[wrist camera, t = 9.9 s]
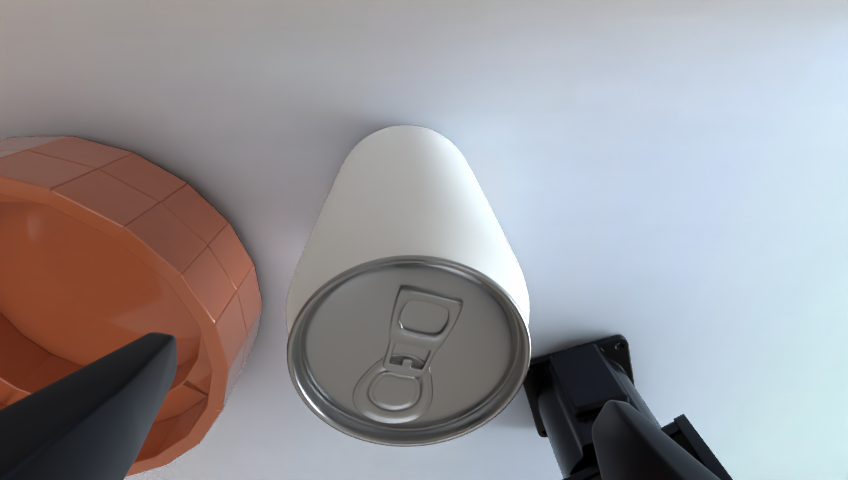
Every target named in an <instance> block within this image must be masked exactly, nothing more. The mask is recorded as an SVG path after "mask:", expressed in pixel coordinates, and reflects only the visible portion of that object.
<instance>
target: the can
mask: <svg viewBox="0 0 848 480" xmlns="http://www.w3.org/2000/svg"><path fill="white" fill-rule="evenodd" d="M529 314H530V304H529V295H528V290H527V286H526V283H525V279H524V276H523V274H522V271H521V269H520V267H519V264H518V262H517V260H516V257H515V255H514V253H513V251H512V249H511V247H510V245H509V243H508V241H507V239H506V237H505V235H504V233H503V231H502V229H501V227H500V225H499V223H498V221H497V219H496V217H495V215H494V213H493V211H492V209H491V207H490V205H489V203H488V201H487V199H486V198H485V196H484V194H483V192H482V190H481V188H480V186H479V184H478V182H477V180H476V178H475V176H474V174H473V172H472V171H471V169H470V167H469V165H468V163H467V161H466V160H465V158H464V157H463V155H462V154H461V152H460V151H459V150H458V149H457V148H456V147H455V145H454V144H452V143H451V142H450V141H449V140H448V139H446V138H445V137H444V136H442V135H440V134H439V133H437V132H434V131H432V130H430V129H427V128H423V127H419V126H412V125H398V126H391V127H387V128H384V129H381V130H378V131H376V132H374V133H372V134H370V135H368V136H367V137H365V138H364V139H363V140H361V141H360V142H359V143H358V144H357V145H356V146H355V147H354V148H353V149H352V151H351V152H350V153H349V155H348V156H347V158H346V159H345V161H344V163H343V165H342V167H341V169H340V171H339V173H338V175H337V177H336V179H335V182H334V184H333V186H332V188H331V190H330V193H329V195H328V197H327V199H326V201H325V204H324V206H323V208H322V210H321V212H320V215H319V217H318V219H317V221H316V224H315V226H314V228H313V230H312V233H311V235H310V237H309V239H308V242H307V244H306V246H305V249H304V251H303V253H302V256H301V258H300V260H299V262H298V265H297V268H296V270H295V273H294V275H293V278H292V281H291V284H290V288H289V292H288V297H287V304H286V322H287V329H288V334H289V338H288V344H287V363H288V369H289V373H290V377H291V380H292V382H293V385H294V387H295V389H296V391H297V393H298V394H299V396H300V397H301V399H302V400H303V402H304V403H305V404H306V405H307V407H308V408H309V409H310V410H311V411H312V412H313V413H314V414H315V415H316V416H318V417H319V418H320V419H321V420H323V421H324V422H325V423H327V424H328V425H330V426H331V427H333V428H335V429H336V430H338V431H340V432H342V433H344V434H346V435H349V436H351V437H354V438H357V439H359V440H363V441H366V442H370V443H375V444H380V445H387V446H400V447H411V446H424V445H431V444H437V443H441V442H445V441H449V440H452V439H455V438H458V437H461V436H463V435H466V434H468V433H470V432H472V431H474V430H476V429H478V428H480V427H481V426H483V425H485V424H486V423H488V422H489V421H490V420H492V419H493V418H494V417H496V416H497V415H498V414H499V413H500V412H501V411H503V410H504V409H505V408H506V407H507V405H508V404H509V403H510V402H511V401H512V400H513V398H514V397H515V396H516V394H517V393H518V391H519V389H520V388H521V386H522V384H523V382H524V380H525V377H526V375H527V371H528V368H529V364H530V357H531V340H530V334H529V329H528V324H529Z"/></svg>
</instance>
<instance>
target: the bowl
mask: <svg viewBox="0 0 848 480" xmlns="http://www.w3.org/2000/svg"><path fill="white" fill-rule="evenodd" d="M261 311H262V300H261V296H260V291H259V286H258V281H257V276H256V272H255V267H254V264H253V262H252V260H251V258H250V257H249V255H248V253H247V252H246V250H245V248H244V247H243V245H242V243H241V242H240V240H239V238H238V237H237V235H236V233H235V231H234V230H233V228H232V226H231V225H230V223H228V221H227V220H226V219H225V218H224V217H223V216H222V215H221V214H220V213H219V212H217V211H216V210H215V209H214V208H213V207H212V206H211V205H210V204H209V203H208V202H207V201H206V200H205V199H204V198H203V197H202V196H201V195H200V194H198V193H197V192H196V191H195V190H194V189H193V188H192V187H191V186H190V185H189V184H187V183H186V182H185V181H183V180H181V179H179V178H178V177H176V176H174V175H172V174H171V173H169V172H167V171H165V170H163V169H162V168H160V167H158V166H156V165H154V164H153V163H151V162H149V161H147V160H146V159H144V158H142V157H140V156H138V155H137V154H134V153H132V152H129V151H125V150H122V149H118V148H114V147H111V146H107V145H103V144H99V143H96V142H92V141H88V140H84V139H81V138H77V137H72V136H45V137H11V138H7V139H4V140H0V410H1V409H3V408H5V407H7V406H9V405H11V404H12V403H14V402H16V401H18V400H20V399H22V398H24V397H26V396H28V395H30V394H32V393H34V392H36V391H38V390H40V389H42V388H43V387H45V386H47V385H49V384H51V383H53V382H55V381H57V380H59V379H61V378H63V377H65V376H67V375H69V374H71V373H73V372H74V371H76V370H78V369H80V368H82V367H84V366H86V365H88V364H90V363H92V362H94V361H96V360H98V359H100V358H102V357H103V356H105V355H107V354H109V353H111V352H113V351H115V350H117V349H119V348H121V347H123V346H125V345H127V344H129V343H131V342H133V341H134V340H136V339H138V338H140V337H142V336H144V335H146V334H148V333H151V332H158V333H164V334H171V335H173V336H175V338H176V342H177V370H176V375H175V378H174V380H173V383H172V385H171V387H170V389H169V391H168V393H167V395H166V397H165V399H164V401H163V404H162V406H161V408H160V410H159V412H158V414H157V416H156V418H155V420H154V422H153V424H152V427H151V429H150V431H149V433H148V435H147V437H146V439H145V441H144V443H143V445H142V447H141V449H140V451H139V453H138V455H137V457H136V459H135V461H134V463H133V464H132V466H131V468H130V469H129V471H128V473H127V474H126V476H130V475H133V474H137V473H140V472H144V471H147V470H151V469H154V468H158V467H161V466H164V465H167V464H168V463H170V462H171V461H173V460H174V459H176V458H178V457H179V456H181V455H182V454H184V453H185V452H187V451H188V450H190V449H191V448H193V447H195V446H196V445H198V444H199V443H200V442H201V441H202V439H203V438H204V437H205V435H206V434H207V432H208V431H209V429H210V428H211V426H212V425H213V424H214V422H215V421H216V419H217V418H218V416H219V415H220V413H221V412H222V410H223V408H224V406H225V404H226V402H227V400H228V398H229V396H230V394H231V391H232V389H233V387H234V385H235V383H236V381H237V379H238V377H239V375H240V372H241V371H242V368H243V366H244V364H245V362H246V360H247V358H248V356H249V354H250V352H251V350H252V347H253V345H254V343H255V341H256V338H257V332H258V327H259V321H260V316H261ZM126 476H125V477H126Z"/></svg>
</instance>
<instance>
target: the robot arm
mask: <svg viewBox="0 0 848 480" xmlns="http://www.w3.org/2000/svg"><path fill="white" fill-rule="evenodd" d="M618 343H620V344H618ZM617 344H618V345H617ZM528 369H529V370H528V371H527V375H526V377H525V380H524V382H523V385H524V389H525V392H526V395H527V398H528V402H529V405H530V408H531V412H532V415H533V418H534V421H535V425H536V428H537V431H538V434H539V435H540V436H541V437H548V438H549V440H550V443H551V446H552V448H553V451H554V454H555V457H556V459H557V462H558V465H559V467H560V470H561V473H562V476H563V478H564V479H562V480H733V479H732V478H731V477H730V475H729V474H728V473H727V471H726V470H725V469H724V467H723V466H722V465H721V463H720V462H719V461H718V459H717V458H716V457H715V455H714V454H713V453H712V451H711V450H710V449H709V447H708V446H707V445H706V443H705V442H704V441H703V439H702V438H701V437H700V435H699V434H698V433H697V431H696V430H695V429H694V427H693V426H692V425H691V423H690V422H689V421H688V419H687V418H686V417H685V415H684V414H682V415H680V416H678V417H676V418H675V419H674V422H672V423H670V424H668V425H666V426H664V427H662V428H661V426H660V425H659V423H658V422H657V420H656V418H655V417H654V415H653V414H652V412H651V411H650V409H649V408H648V406H647V405H646V403H645V402H644V400H643V399H642V397H641V396H640V394H639V393H638V391H637V390H636V388H635V386H634V379H633V372H632V366H631V359H630V352H629V345H628V342H627V340H626V339H625V338H624V337H623V336H622V335H615V336H612V337H608V338H605V339H601V340H598V341H594V342H591V343H587V344H583V345H580V346H576V347H573V348H569V349H566V350H562V351H559V352H555V353H552V354H548V355H545V356H541V357H538V358H534V359H531V360H530V364H529V368H528ZM176 370H177V342H176V338H175V336H173V335H171V334H164V333H158V332H151V333H148V334H146V335H144V336H142V337H140V338H138V339H136V340H134V341H133V342H131V343H129V344H127V345H125V346H123V347H121V348H119V349H117V350H115V351H113V352H111V353H109V354H107V355H105V356H103V357H102V358H100V359H98V360H96V361H94V362H92V363H90V364H88V365H86V366H84V367H82V368H80V369H78V370H76V371H74V372H73V373H71V374H69V375H67V376H65V377H63V378H61V379H59V380H57V381H55V382H53V383H51V384H49V385H47V386H45V387H43V388H42V389H40V390H38V391H36V392H34V393H32V394H30V395H28V396H26V397H24V398H22V399H20V400H18V401H16V402H14V403H12V404H11V405H9V406H7V407H5V408H3V409H1V410H0V480H123V479H124V478H125V476H126V474H127V473H128V471H129V469H130V468H131V466H132V464H133V463H134V461H135V459H136V457H137V455H138V453H139V451H140V449H141V447H142V445H143V443H144V441H145V439H146V437H147V435H148V433H149V431H150V429H151V427H152V424H153V422H154V420H155V418H156V416H157V414H158V412H159V410H160V408H161V406H162V404H163V401H164V399H165V397H166V395H167V393H168V391H169V389H170V387H171V385H172V383H173V380H174V378H175V375H176Z"/></svg>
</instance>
